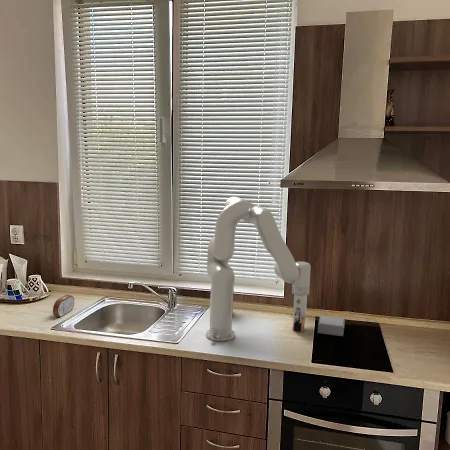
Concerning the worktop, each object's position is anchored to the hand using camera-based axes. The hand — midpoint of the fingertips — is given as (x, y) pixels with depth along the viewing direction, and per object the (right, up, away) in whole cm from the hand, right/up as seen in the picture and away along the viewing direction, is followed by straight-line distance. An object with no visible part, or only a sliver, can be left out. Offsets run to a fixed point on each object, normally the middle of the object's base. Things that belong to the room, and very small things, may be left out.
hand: (298, 327), depth 203 cm
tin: (-109, +3, +12) cm, 110 cm away
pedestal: (+15, -2, +2) cm, 15 cm away
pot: (0, -1, 0) cm, 1 cm away
